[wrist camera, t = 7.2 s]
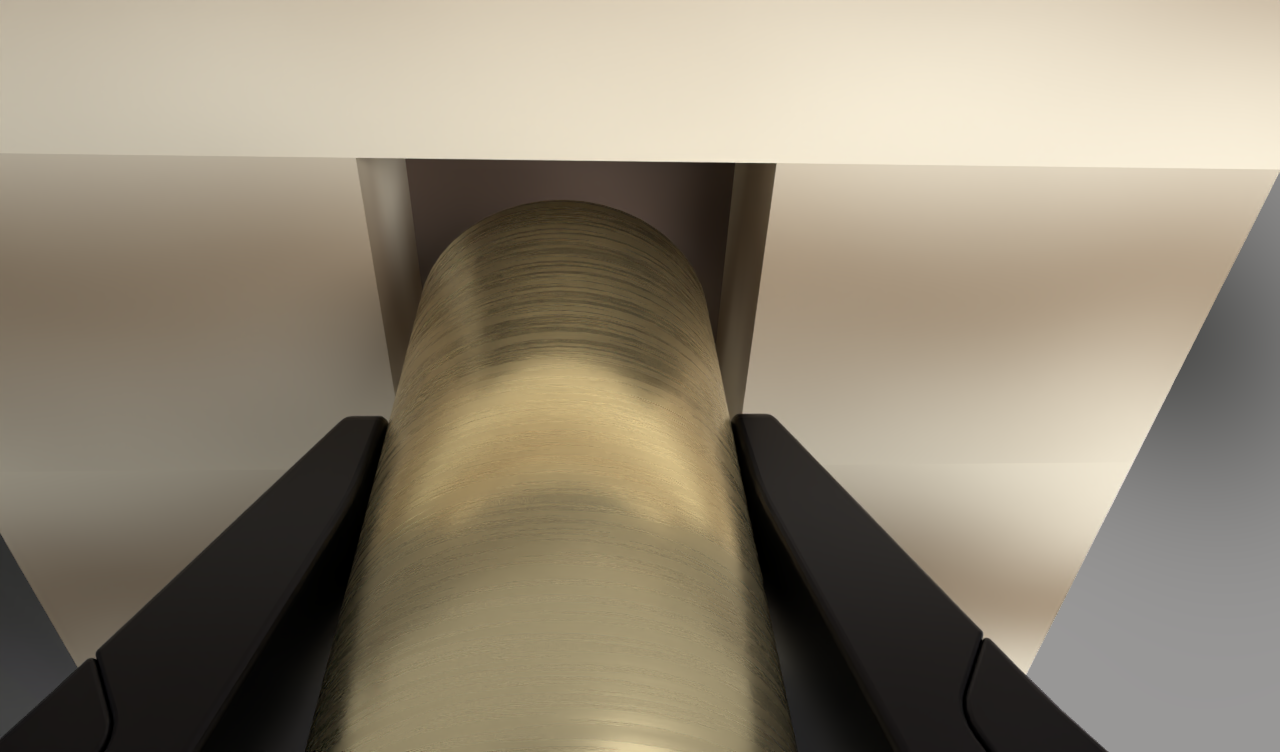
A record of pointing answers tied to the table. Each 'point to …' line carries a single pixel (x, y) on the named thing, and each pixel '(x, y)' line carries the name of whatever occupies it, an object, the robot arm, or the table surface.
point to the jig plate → (645, 188)
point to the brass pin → (557, 514)
